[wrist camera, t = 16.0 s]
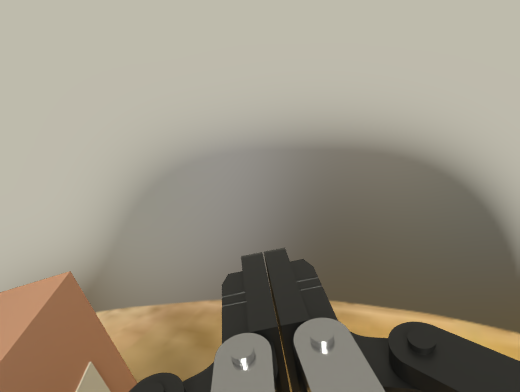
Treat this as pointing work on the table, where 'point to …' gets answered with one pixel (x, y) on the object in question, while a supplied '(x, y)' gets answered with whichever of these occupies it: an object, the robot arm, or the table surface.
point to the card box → (56, 341)
